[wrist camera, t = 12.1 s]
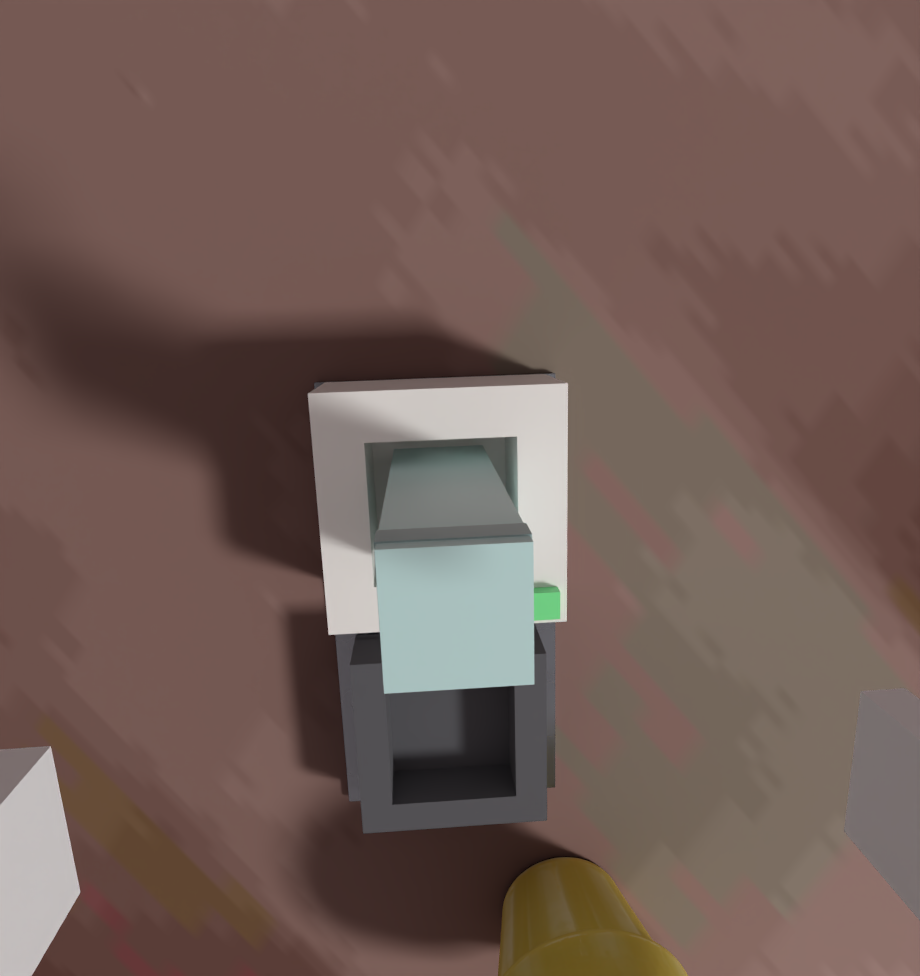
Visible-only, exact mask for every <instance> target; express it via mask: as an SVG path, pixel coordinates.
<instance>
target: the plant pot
mask: <svg viewBox="0 0 920 976" xmlns="http://www.w3.org/2000/svg"><path fill="white" fill-rule="evenodd" d="M498 976H688V975H687V973H686V972H685V970H684V968H683V967H682V965H681V964H680V963H679V962H678V960H677V959H676V958H675V957H674V956H673V955H672V954H671V953H670V952H669V951H668V950H666V949H665V948H664V947H662V946H661V945H659V944H658V943H656V942H654V941H653V940H652V939H651V937H650V936H649V934H648V933H647V931H646V930H645V928H644V927H643V925H642V924H641V922H640V921H639V919H638V918H637V916H636V915H635V913H634V912H633V910H632V909H631V907H630V906H629V904H628V903H627V901H626V900H625V898H624V897H623V895H622V894H621V892H620V891H619V889H618V888H617V886H616V884H615V883H614V881H613V880H612V879H611V877H610V876H609V875H608V874H607V873H606V872H605V871H604V870H603V869H601V868H600V867H599V866H597V865H595V864H593V863H591V862H589V861H587V860H583V859H579V858H573V857H558V858H552V859H548V860H544V861H542V862H539V863H537V864H535V865H533V866H531V867H530V868H528V869H527V870H525V871H524V872H523V873H522V874H520V875H519V876H518V877H517V878H516V879H515V881H514V882H513V883H512V885H511V886H510V888H509V890H508V891H507V894H506V896H505V899H504V903H503V910H502V926H501V942H500V955H499V969H498Z"/></svg>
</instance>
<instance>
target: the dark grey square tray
mask: <svg viewBox="0 0 920 976" xmlns="http://www.w3.org/2000/svg"><path fill="white" fill-rule="evenodd" d="M350 674H351V687H352V700H353V712H354V725H355V737H356V750H357V763H358V775H359V788H360V800H361V813H362V825H363V834H364V833H378V832H392V831H406V830H420V829H434V828H448V827H462V826H476V825H490V824H504V823H518V822H532V821H546V820H547V678H546V651H545V649H544V646H543V643H542V641H541V638H540V636H539V633H538V631H537V628H536V625H534V685H518V686H502V687H486V688H469V689H453V690H437V691H421V692H404V693H388V694H384V686H383V674H382V659H381V644H380V634H375V635H357V636H356V637H355V642H354V647H353V652H352V657H351V662H350Z"/></svg>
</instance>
